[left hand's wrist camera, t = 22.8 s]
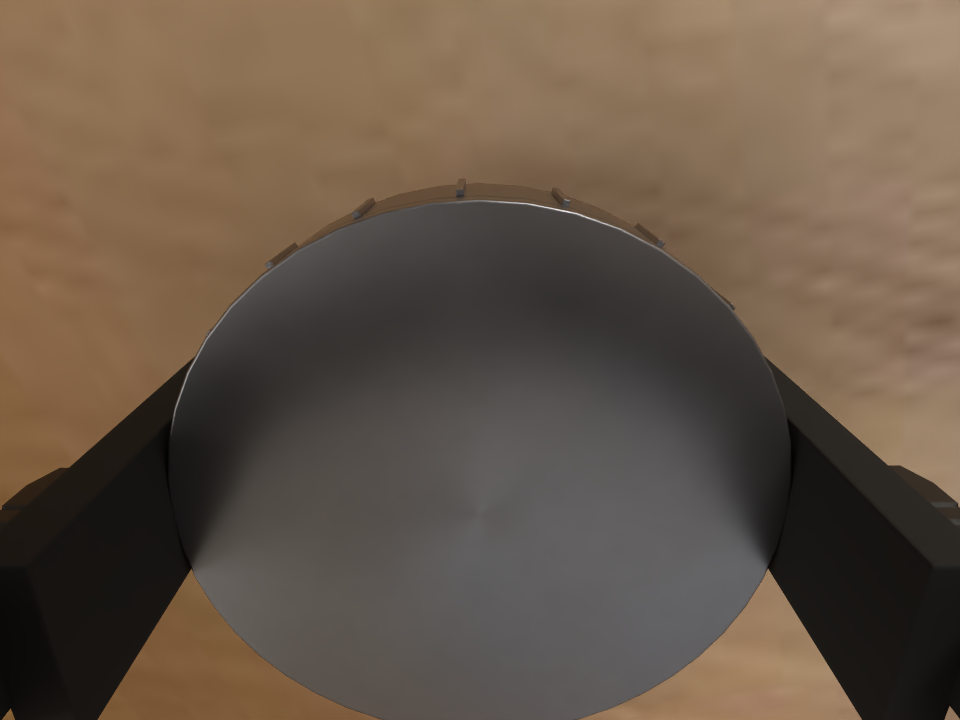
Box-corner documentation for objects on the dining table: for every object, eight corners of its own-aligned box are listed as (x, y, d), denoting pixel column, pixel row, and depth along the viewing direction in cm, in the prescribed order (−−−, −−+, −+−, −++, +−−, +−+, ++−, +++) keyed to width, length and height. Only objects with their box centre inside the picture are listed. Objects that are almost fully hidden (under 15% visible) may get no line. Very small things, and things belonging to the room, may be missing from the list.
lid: (757, 137, 10) (819, 145, 8) (743, 630, 14) (783, 709, 12) (137, 222, 10) (65, 246, 9) (286, 675, 14) (257, 758, 12)
